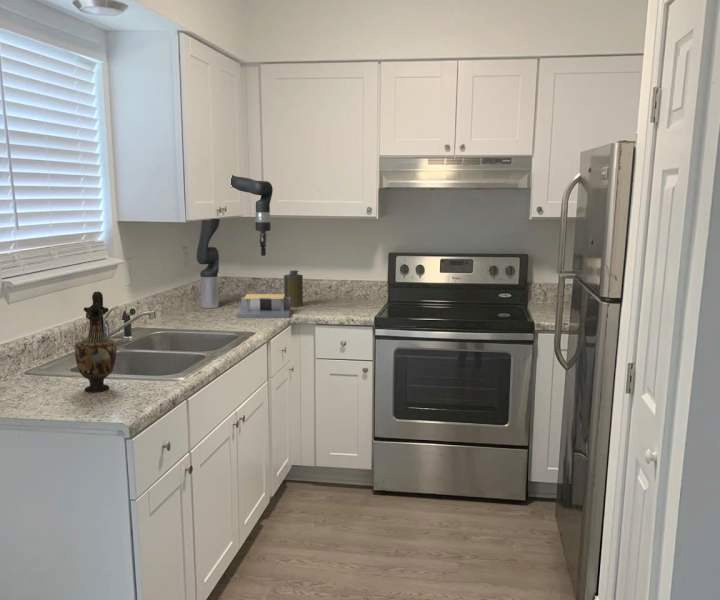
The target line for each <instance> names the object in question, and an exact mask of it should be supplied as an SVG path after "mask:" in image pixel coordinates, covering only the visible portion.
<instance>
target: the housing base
mask: <svg viewBox="0 0 720 600" xmlns="http://www.w3.org/2000/svg"><path fill="white" fill-rule="evenodd" d="M244 297H245V296H241V298H240V300H241V307H240V310H239V311H238V312H237V314H236V318H237V319H289V318H290V315H291V308H292V307H291V297H285V296H284V299H281V310H276V311H272V303H271V299H261V310H260V311H250V299H244Z"/></svg>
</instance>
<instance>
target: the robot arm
mask: <svg viewBox="0 0 720 600" xmlns="http://www.w3.org/2000/svg"><path fill="white" fill-rule="evenodd" d="M231 175H232V178H231V185H232V187H233V189H235V190H237V191H239V192H242V193H243V192H244V193H249V194H252V195H256V196H260V199H259V200H257V201H255V217H254V219H255V222H254V223H255V231H256V232H260V233H259V234H258V238H259V247H260V250H261V251H260V256H262V257H265V256H266V255H267V253H266V250H267V244H268V234H267V232H270V231H271V229H272V227H271V213H270V212H271V211H270V210H271V207H270V206H271V202H272V196H273V190H274V189H273V185H272V183H271V182H269V181H267V180H255V179H253V178H249V177H244V176H235V175H233V174H231ZM232 187H231V188H232ZM220 220H221V218H220V219H211V220H202V219H201V226H200V227H201V228H200V234H199V239H198V243H197V245H198V246H197V248H196V262H198V264H199V265H207V267H205V269H202V270H201V271H200V295H201V296H200V303H201V308H203V309H216V308H219V279H218V278H219V277H218V274H219V267H220V265H219V263H220V261H219V260H220V255H219V251H218V249H217V248H216V247H214V246H209V244H210V241H211V239H212V237H213V236H214V234H215V233H216V232H217V230H218V228H219V227H220V226H219V225H220Z"/></svg>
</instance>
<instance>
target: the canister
mask: <svg viewBox="0 0 720 600" xmlns="http://www.w3.org/2000/svg"><path fill="white" fill-rule="evenodd" d="M298 272H299V270H289V272H288V273H289V274H284V275H283V294H285V296H284V297H291V308H300V307H303V306H304V303H303V302H304V301H303V300H304V299H303V297H304V294H303V293H304V289H303V288H304V287H303V276H304V275H303V274H298Z"/></svg>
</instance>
